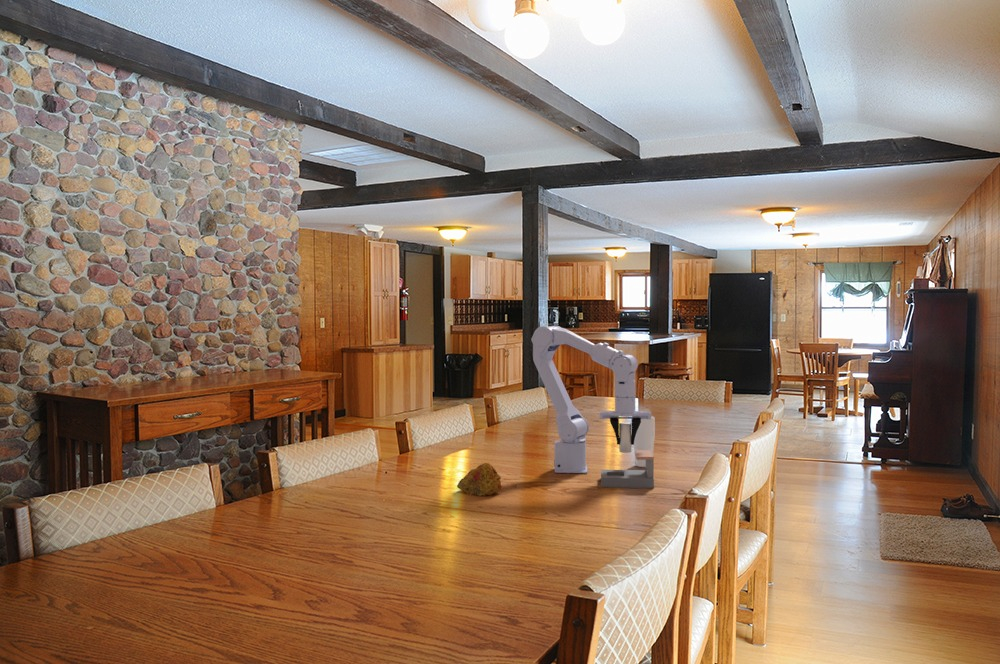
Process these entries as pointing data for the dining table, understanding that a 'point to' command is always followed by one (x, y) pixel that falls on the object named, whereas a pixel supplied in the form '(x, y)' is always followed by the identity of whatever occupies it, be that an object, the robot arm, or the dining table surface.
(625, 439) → the peg
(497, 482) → the rock
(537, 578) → the dining table surface
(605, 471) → the socket station
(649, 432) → the cream rounded cylinder
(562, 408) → the robot arm
